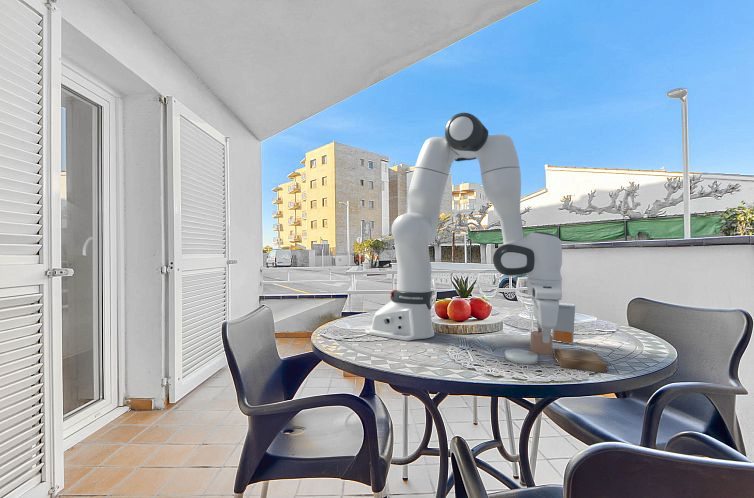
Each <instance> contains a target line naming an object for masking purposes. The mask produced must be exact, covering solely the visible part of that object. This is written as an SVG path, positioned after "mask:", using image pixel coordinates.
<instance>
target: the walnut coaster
mask: <svg viewBox="0 0 754 498" xmlns="http://www.w3.org/2000/svg"><path fill="white" fill-rule="evenodd" d="M553 351H554V352H553V356H554V358H555V360H556V359H557V360H558V362H559V364H558V365H559V367H560V368H563V369H565V368H566V369H573V370H580V371H581V370H582V371H590V372H591V371H593V372H599V373H607V370H608V369H607V368H608V366H607V365H608V364H607V363H606V361H604V360H603V359H602V357H601V356H600V355H599V354H598V353H596V352H593V351H585V350H584V351H582V350H576V349H575V350H574V349H564V348H554V349H553ZM557 360H556V361H557ZM558 362H557V363H558Z"/></svg>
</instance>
